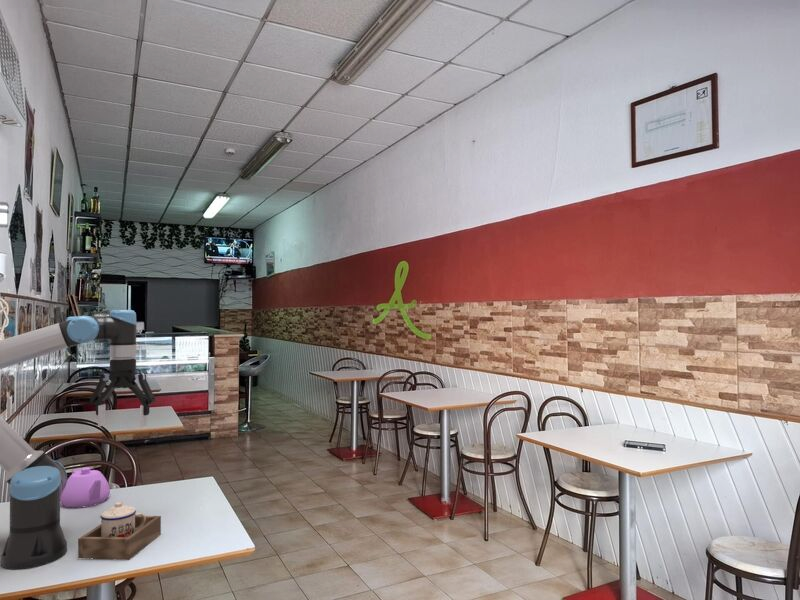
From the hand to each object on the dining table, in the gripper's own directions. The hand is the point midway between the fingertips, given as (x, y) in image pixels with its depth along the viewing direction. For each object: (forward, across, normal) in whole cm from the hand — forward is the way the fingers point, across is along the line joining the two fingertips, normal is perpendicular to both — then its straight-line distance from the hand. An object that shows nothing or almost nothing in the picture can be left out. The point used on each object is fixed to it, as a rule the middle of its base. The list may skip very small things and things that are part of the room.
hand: (122, 425), depth 174 cm
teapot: (+32, +27, -23) cm, 48 cm away
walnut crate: (+32, -8, +14) cm, 36 cm away
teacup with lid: (+31, -8, +14) cm, 35 cm away
